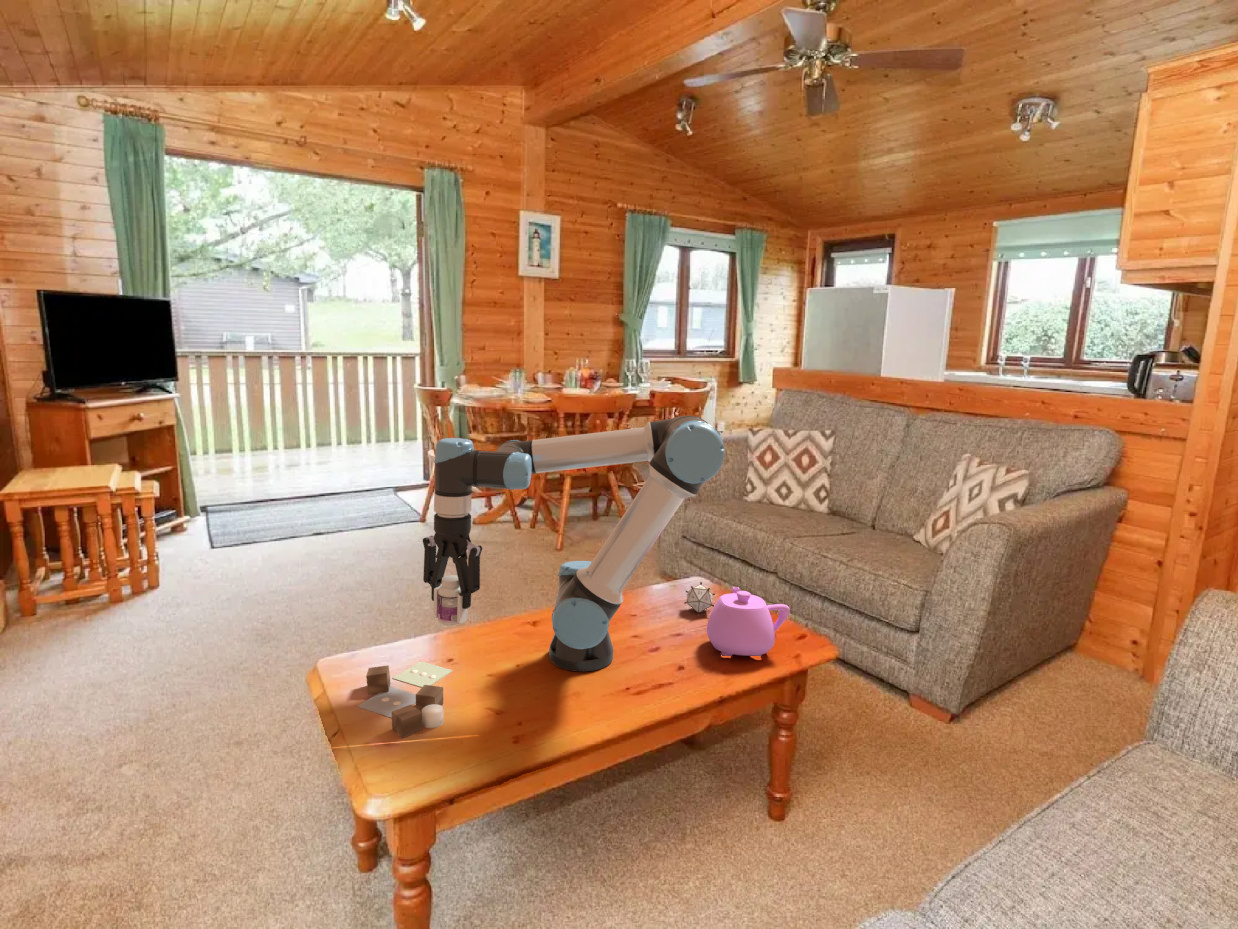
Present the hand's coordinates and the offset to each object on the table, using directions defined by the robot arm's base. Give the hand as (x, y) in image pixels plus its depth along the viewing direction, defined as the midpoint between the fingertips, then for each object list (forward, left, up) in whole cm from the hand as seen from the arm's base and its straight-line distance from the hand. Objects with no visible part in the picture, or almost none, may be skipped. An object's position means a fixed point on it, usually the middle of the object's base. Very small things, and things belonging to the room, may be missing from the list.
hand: (450, 618), depth 147 cm
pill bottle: (0, 0, -1) cm, 1 cm away
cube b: (-3, +19, -12) cm, 23 cm away
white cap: (-8, +15, -14) cm, 22 cm away
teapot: (-53, -49, -14) cm, 73 cm away
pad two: (+4, +13, -14) cm, 20 cm away
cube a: (-4, +11, -14) cm, 19 cm away
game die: (-36, -65, -14) cm, 75 cm away
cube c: (+10, +10, -14) cm, 20 cm away
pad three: (+6, +1, -14) cm, 16 cm away
